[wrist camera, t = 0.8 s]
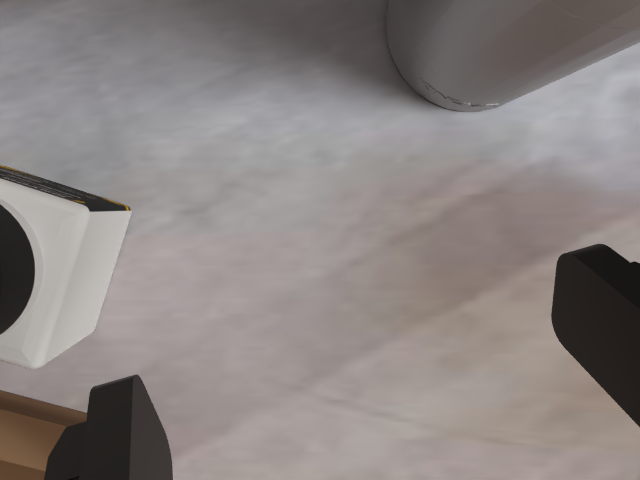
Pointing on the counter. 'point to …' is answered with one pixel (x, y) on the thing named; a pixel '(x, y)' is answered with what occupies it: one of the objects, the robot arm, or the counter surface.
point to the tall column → (30, 434)
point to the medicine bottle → (52, 264)
